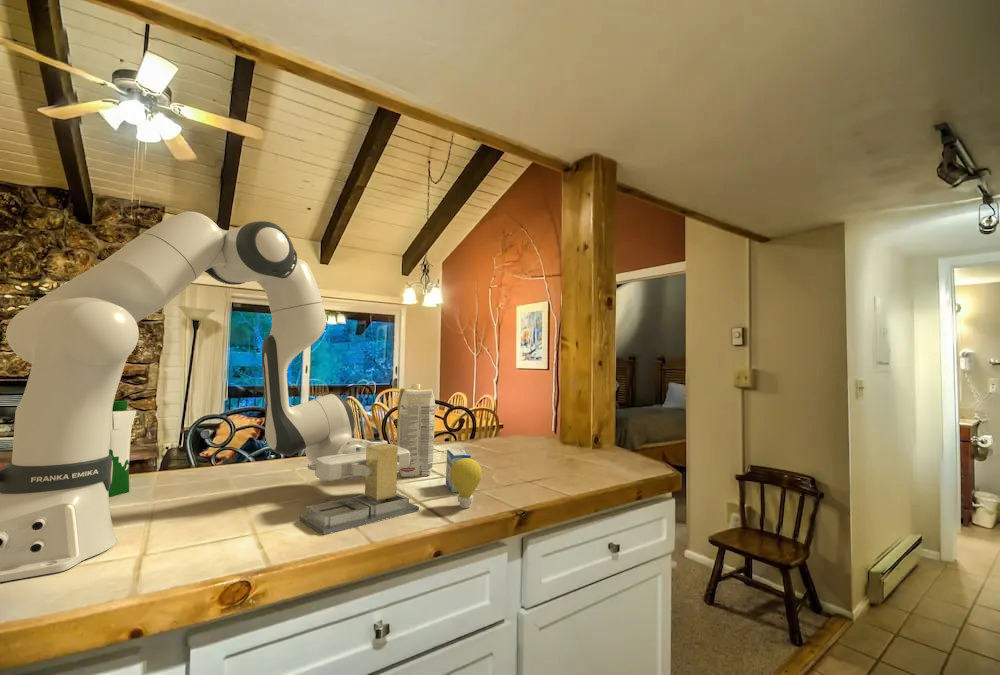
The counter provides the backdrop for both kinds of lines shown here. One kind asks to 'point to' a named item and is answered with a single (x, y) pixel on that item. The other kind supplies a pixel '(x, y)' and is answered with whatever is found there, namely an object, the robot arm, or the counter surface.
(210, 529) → the counter surface
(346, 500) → the grey double tray
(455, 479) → the light bulb
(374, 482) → the wooden block
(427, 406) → the juice carton
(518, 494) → the counter surface
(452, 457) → the medicine box
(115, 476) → the milk carton
